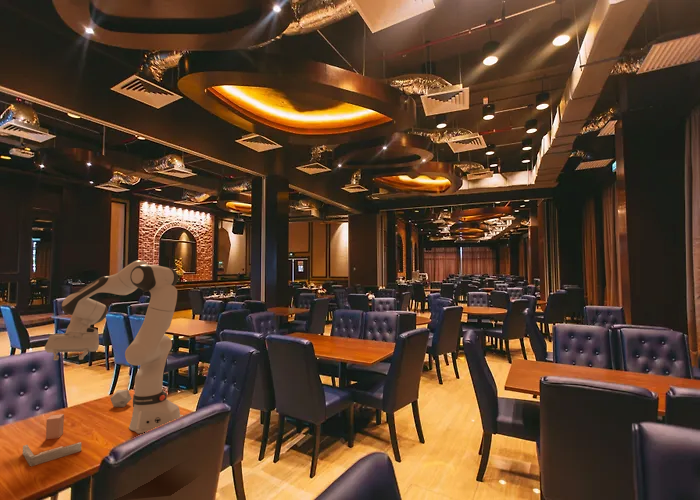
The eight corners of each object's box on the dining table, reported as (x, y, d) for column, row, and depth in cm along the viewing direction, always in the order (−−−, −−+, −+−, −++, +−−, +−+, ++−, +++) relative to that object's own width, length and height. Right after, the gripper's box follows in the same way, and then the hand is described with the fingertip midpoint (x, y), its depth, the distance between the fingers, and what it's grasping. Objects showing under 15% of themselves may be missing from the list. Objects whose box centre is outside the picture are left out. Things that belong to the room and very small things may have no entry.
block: (63, 433, 158) (64, 414, 158) (58, 437, 153) (59, 418, 154) (50, 434, 156) (51, 415, 156) (45, 439, 152) (46, 419, 152)
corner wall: (22, 453, 140) (23, 445, 140) (71, 440, 151) (71, 432, 151) (30, 466, 131) (30, 457, 131) (81, 451, 142) (81, 442, 142)
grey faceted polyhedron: (115, 411, 183) (129, 394, 186) (103, 402, 185) (117, 384, 188) (124, 412, 191) (138, 394, 194) (112, 402, 192) (126, 385, 196)
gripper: (48, 329, 171) (38, 356, 161) (101, 329, 179) (93, 354, 169) (51, 337, 175) (41, 364, 165) (102, 336, 183) (95, 362, 173)
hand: (68, 359), depth 167 cm, fingers open, 8 cm apart
